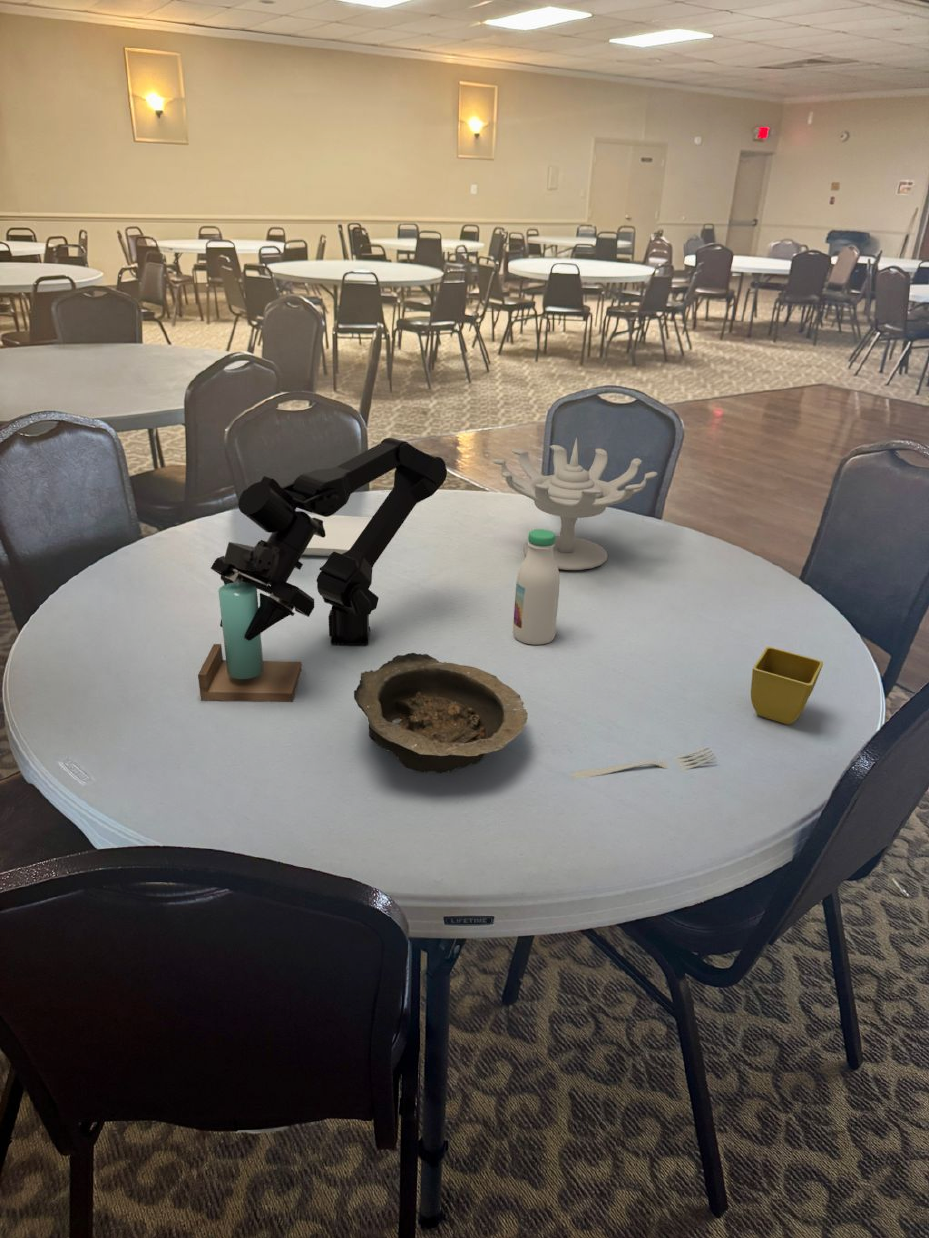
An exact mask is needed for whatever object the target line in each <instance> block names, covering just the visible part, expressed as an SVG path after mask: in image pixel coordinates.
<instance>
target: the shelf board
mask: <svg viewBox="0 0 929 1238" xmlns="http://www.w3.org/2000/svg"><path fill="white" fill-rule="evenodd" d="M222 646H223V645H222V643H213V645H212V646H211V649H210V651H209V652H208V655H207V657H206V658H205V660H204V662H203V664H202V666H201V668H200V670H199V672H198V675H197V677H198V678H197V680H198V688H199V694H200V695H199V696H200V700H201V701H222V700H223V701H225V702H226V701H227V702H229V701H230V702H236V701H237V702H276V703H277V702H279V703H281V702H283V703H284V702H285V703H286V702H287V703H291V702H293V700H294V697H295V693H296V691H297V687H298V684H299V680H300V676H301V674H302V670H303V669H302V667H303V666H302V661H283V660H281V661H280V660H279V661H278V660H277V661H275V660H273V661H272V660H263V666H264V670H263V672H262V673H261V674H260V675H258V676H256V677H254V678H250V679H236V678H232V677H230V676H229V675H228V673H227V665H226V659H225V660H224V659H223V656H224V655H223V648H222Z"/></svg>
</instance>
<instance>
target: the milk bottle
mask: <svg viewBox="0 0 929 1238" xmlns="http://www.w3.org/2000/svg"><path fill="white" fill-rule="evenodd" d="M555 536H556V534H555V532H553V531H551V530H549V529H548V530H547V529H538V528H537V529H533V530H531V531H529V532H528V538H527V539H528V542H527V543H528V545H529V550H528V553H527V555H525V557H524V559H523V560H522V563H521V564H520V567H519V569H518V571H517V576H516V583H515V596H514V607H513V608H514V609H513V624H512V634H513V637H514V638H515V639H516V640H517V641H519V642H521V643H523V644H527V645H534V646H535V645H536V646H537V645H539V646H540V645H546V644H548V643H551V642H552V641H553V640H554V638H555V636H556V628H557V627H556V626H557V617H558V609H559V607H558V606H559V597H560V584H561V583H560V582H561V581H560V579H561V578H560V572H559V569H558V567H557V564H556V562H555V559H554V555H553V547H554V546H555V545H554V543H555Z"/></svg>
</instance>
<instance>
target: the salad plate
mask: <svg viewBox="0 0 929 1238" xmlns="http://www.w3.org/2000/svg"><path fill="white" fill-rule="evenodd" d="M307 514H308V515H309V516H310V517H311V518H317V519H320V520H322V521H323V527H324V530H325V534H326V536H325V537H324V538H323V537H320V536H317V535H314V536H313V537H312V539H311V541H310V542H309V544H308V546H307V548H306V549H305V551H304V553H303V554H302V556H317V557H319V556H320V557H329V556H330V554H332V553H333V552H337V553H340V554H343V553H345V552H347V551H348V550H349V549H350V548H351V547H352V545H353V544H354V543H355V541H356V540H357V538H358V537H359V536H360V534H361V533H362V531H363V530H364V529H365V527H366V526H367V524H368V523H369V521H370V520H371V519H372V517H370V516H355V515H354V516H351V515H338V514H337V515H334V514H333V515H331V516H329V517H324V516H320V515H318V514H314V513H311V514H309V513H307Z"/></svg>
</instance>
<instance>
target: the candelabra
mask: <svg viewBox="0 0 929 1238" xmlns="http://www.w3.org/2000/svg"><path fill="white" fill-rule="evenodd" d="M549 448H550V449H551V450H552V451H553V457H552V458H553V459H552V461H553V462H552V463H553V474H550V475H543V473H541V472H539V471H538V470H537V469H536V468H535V466H534V465H533V464H532V463H531V460H530V458H529V456H530V455H529V451H528V450H525V449H521V448H512V449H511V450H510V451H511V452H512V453H513V454H514V455H517V456H518V462H519V465H520V468H521V469H522V470H523V472H524V473H525V474H526V476H527V477H528V478H529V481H528V480H526V479H523V478H521V477H519V476H518V475H516V474H514V473H513V472H512V471H510V470H509V468H508V466H507V465H506V463H507V462H506V461H507V460H506V459H503V458H495V459H492V463H493V464H495V465H499V466H501V473H500V475H501V477H503V478H505V481H506V484H507V486H508V487H509V488H510V489H512V490H513V491H514V492H517V493H518V494H521V495H523V496H525V497H527V498H528V499H531V500H532V501H533V503H534V506H535V507H536V508H537V509H538V510H539V511H541V512H544V513H546V514H549V515H552V516H556V517H559V518H560V524H561V527H560V531H559V535H555V543H554V545H555V546H554V547H553V555H554V559H555V562H556V564H557V567H558V570H565V571H580V570H581V571H582V570H587V569H593V568H595V567H600V566H601V565H603V564H604V563H605V562H606V561H607V559H608V557H609V556H608V553H607V551H606V549H605V548H603V547H602V546H601V545H600V544H598V543H595V542H593V541H590V540H588V539H585V538H581V537H576V536H575V534H576V533H575V525H576V523H577V520H578V519H579V518H581V519H583V518H591V517H596V516H599V515H601V514H603V513H604V512H605V510H606V508H607V507H609V506H612V505H616V504H620V503H622V502H625V501H628V499H631V497H632V496H633V495H635V494H636V493H639V492H642V491H643V489H644V488H645V486H646V485H647V481H648V480H651V479H653V478H655V477H656V476H657V475H658V472H656V471H649V472H647V473H645V474H644V478H643V480H642V481H641V482H640V483H636V484H629V485H626V484H627V483H629V482H630V481H632V480H633V479H634V478H635V477H636V475H637V474H638V469H639V466H641V465H642V462H643V460H641V459H640V458H638V457H636V458H633V459H632V460H631V462H630V463H629V464H630V465H629V467H628V469H627V470H626V472H624V473H622V474H621V475H620V476H618V477H617V478H615V479H613V480H610V481H604V480H601V478H602V475H603V473H604V471H605V470H606V467H607V464H608V459H609V457H608V452H607V451H606V449H603V448H595V450H594V451H595V456H594V459H593V462H592V464H591V466H590V468H589V470H586V469H585V468H584V467H583V466H582V465H580V464H579V456H578V455H579V454H578V439H577V437H576V438H575V441H574V445H573V449H572V452H571V453H572V454H571V457H570V461H569V462H568V452H567V451H568V450H566V448H564V447H563V446H561V445H557V444H553V445H549ZM625 485H626V486H625ZM623 486H625V488H624V489H622V490H621V489H620V488H622V487H623ZM528 550H529V545H528V542H527V543H526V544H525V546H524V547H523V553H524V555H525V556H526V555H527V553H528Z"/></svg>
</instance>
